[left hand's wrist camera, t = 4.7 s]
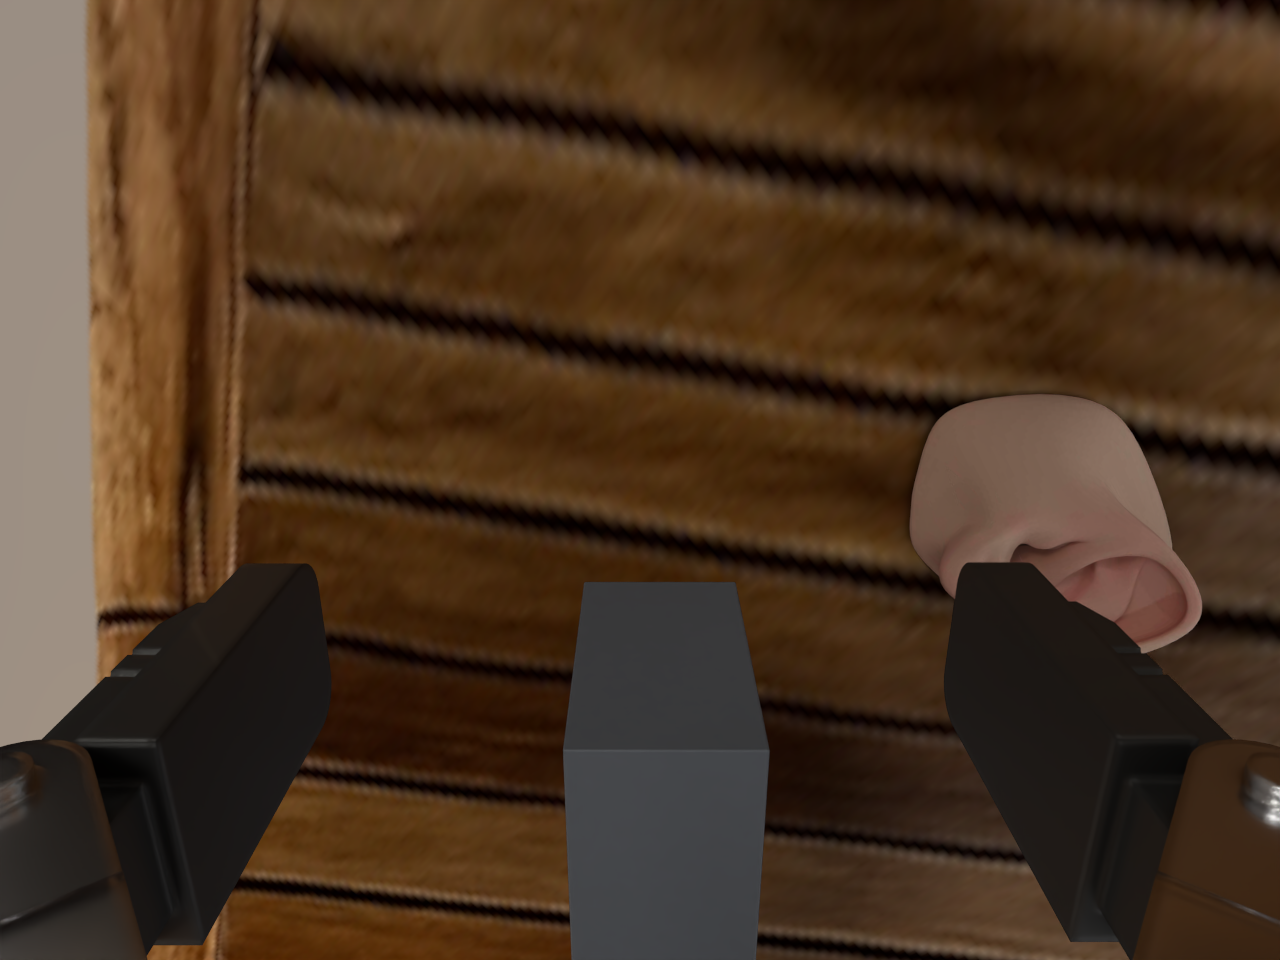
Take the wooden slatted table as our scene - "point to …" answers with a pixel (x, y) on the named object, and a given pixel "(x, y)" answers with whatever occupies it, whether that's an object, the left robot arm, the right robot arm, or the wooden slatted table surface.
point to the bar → (664, 775)
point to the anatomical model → (1054, 509)
